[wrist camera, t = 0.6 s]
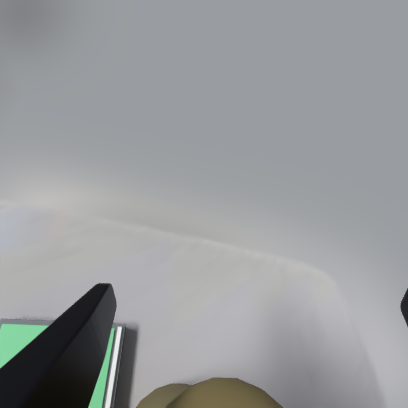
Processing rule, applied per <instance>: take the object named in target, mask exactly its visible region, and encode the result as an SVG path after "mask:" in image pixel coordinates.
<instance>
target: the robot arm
mask: <svg viewBox="0 0 408 408" xmlns="http://www.w3.org/2000/svg"><path fill="white" fill-rule="evenodd" d="M401 311H402V314H403V316H404V319H405V321H406V323H407V326H408V289H407V291H406V293H405V295H404V297H403V299H402V301H401ZM115 312H116V298H115V295H114V291H113V287H112V285H111V284H109V283H99V284H96V285H95V286H94V287H93V288H91V289H90V290H89V291H88V292H87V293H86V294H85V295H83V296H82V297H81V298H80V299H79V300H78V301H77V302H75V303H74V304H73V305H72V306H71V307H70V308H69V309H67V310H66V311H65V312H64V313H63V314H62V315H61V316H59V317H58V318H57V319H56V320H55V321H54V322H53V323H51V324H50V325H49V326H48V327H47V328H46V329H45V330H43V331H42V332H41V333H40V334H39V335H38V336H37V337H35V338H34V339H33V340H32V341H31V342H30V343H29V344H27V345H26V346H25V347H24V348H23V349H22V350H21V351H19V352H18V353H17V354H16V355H15V356H14V357H13V358H11V359H10V360H9V361H8V362H7V363H6V364H5V365H3V366H2V367H1V368H0V408H88V407H89V404H90V401H91V398H92V395H93V392H94V389H95V386H96V383H97V380H98V378H99V375H100V372H101V369H102V366H103V362H104V359H105V355H106V351H107V347H108V343H109V338H110V334H111V329H112V325H113V320H114V316H115Z"/></svg>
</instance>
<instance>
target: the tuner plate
mask: <svg viewBox="0 0 408 408" xmlns="http://www.w3.org/2000/svg"><path fill="white" fill-rule="evenodd" d="M53 322H54V321H45V320H22V319H1V320H0V368H1V367H2V366H3V365H5V364H6V363H7V362H8V361H9V360H10V359H11V358H13V357H14V356H15V355H16V354H17V353H18V352H19V351H21V350H22V349H23V348H24V347H25V346H26V345H27V344H29V343H30V342H31V341H32V340H33V339H34V338H35V337H37V336H38V335H39V334H40V333H41V332H42V331H43V330H45V329H46V328H47V327H48V326H49V325H50V324H51V323H53ZM124 331H125V324H113V325H112V329H111V334H110V338H109V343H108V347H107V351H106V355H105V359H104V362H103V366H102V369H101V372H100V375H99V378H98V380H97V383H96V386H95V389H94V392H93V395H92V398H91V401H90V404H89V407H88V408H114V401H115V394H116V387H117V380H118V373H119V366H120V359H121V352H122V345H123V338H124Z"/></svg>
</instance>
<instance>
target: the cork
mask: <svg viewBox="0 0 408 408" xmlns="http://www.w3.org/2000/svg"><path fill="white" fill-rule="evenodd" d="M136 408H283V407H282V406H281V405H280V404H278V403H277V402H276V401H275V400H274V399H273V398H272V397H270V396H269V395H268V394H267V393H266V392H265V391H263V390H262V389H260V388H258V387H256V386H254V385H251V384H249V383H246V382H244V381H242V380H239V379H237V378H211V379H209V380H206V381H203V382H200V383H198V384H195V385H192V386H189V385H187V384H169V385H166V386H163V387H161V388H158V389H155V390H154V391H153V392H151V393H150V394H149V395H148V396H146V397H145V398H144V399H142V400H141V402H140V403H139V404H138V406H137V407H136Z"/></svg>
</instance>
